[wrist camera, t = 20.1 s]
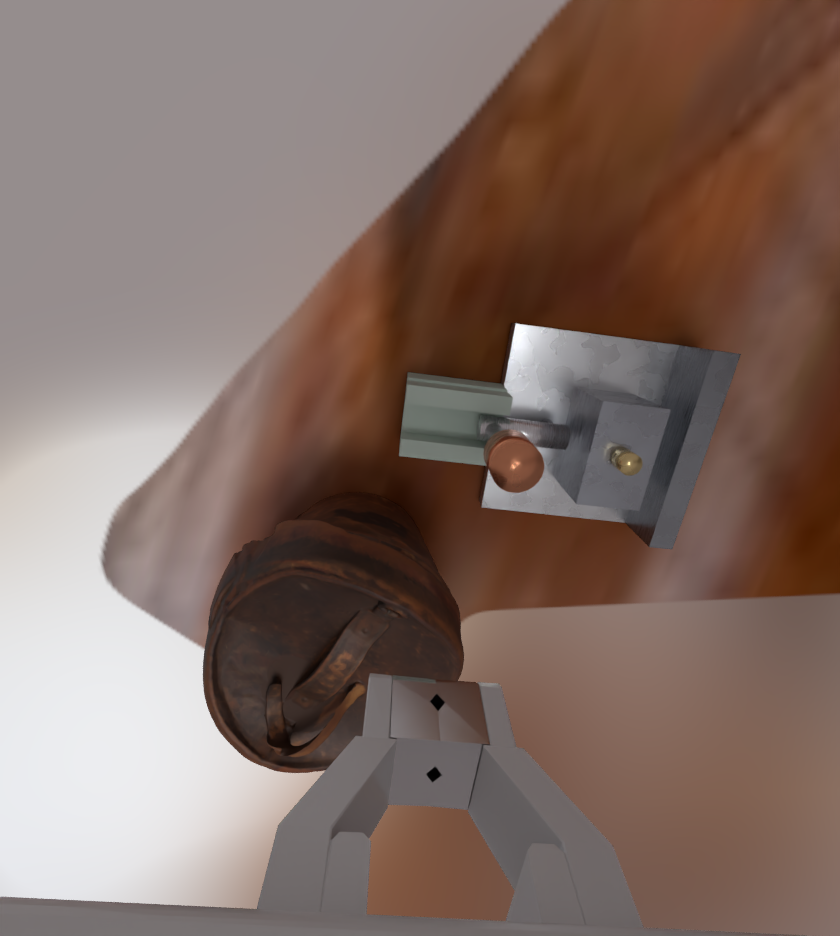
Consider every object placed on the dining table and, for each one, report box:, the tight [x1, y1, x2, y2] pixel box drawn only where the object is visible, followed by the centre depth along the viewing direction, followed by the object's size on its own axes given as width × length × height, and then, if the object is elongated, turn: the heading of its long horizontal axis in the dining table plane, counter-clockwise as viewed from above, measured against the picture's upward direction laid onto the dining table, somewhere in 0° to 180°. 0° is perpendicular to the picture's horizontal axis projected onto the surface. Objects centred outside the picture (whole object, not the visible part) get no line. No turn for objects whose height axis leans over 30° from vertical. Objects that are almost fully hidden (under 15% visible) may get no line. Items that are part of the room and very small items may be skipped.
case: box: [203, 492, 464, 773], centre depth 36 cm, size 18×20×18 cm
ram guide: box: [399, 372, 513, 466], centre depth 37 cm, size 8×6×5 cm
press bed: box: [479, 323, 741, 549], centre depth 38 cm, size 16×16×6 cm
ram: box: [476, 415, 571, 493], centre depth 32 cm, size 8×3×10 cm, turn 83°
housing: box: [553, 387, 671, 511], centre depth 36 cm, size 5×8×8 cm, turn 173°
